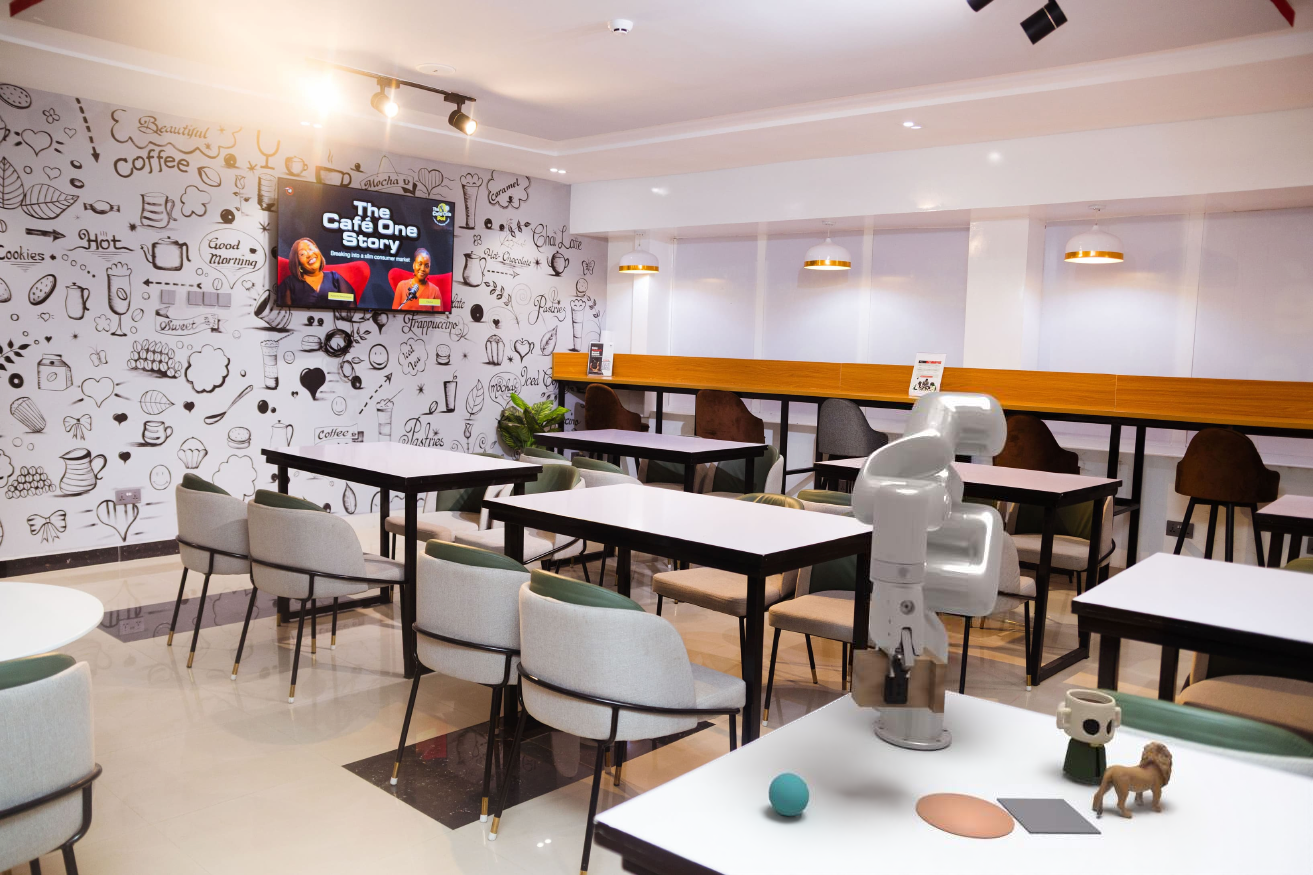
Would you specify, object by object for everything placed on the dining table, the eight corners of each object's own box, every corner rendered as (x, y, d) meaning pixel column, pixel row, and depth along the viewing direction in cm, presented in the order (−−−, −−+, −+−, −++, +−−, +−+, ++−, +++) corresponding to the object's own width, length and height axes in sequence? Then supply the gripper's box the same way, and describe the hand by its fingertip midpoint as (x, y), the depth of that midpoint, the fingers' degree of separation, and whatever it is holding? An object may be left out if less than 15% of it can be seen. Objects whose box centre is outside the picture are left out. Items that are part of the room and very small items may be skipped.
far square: (1030, 833, 124) (1030, 831, 124) (996, 799, 134) (996, 798, 134) (1101, 833, 125) (1101, 832, 125) (1062, 800, 135) (1062, 798, 135)
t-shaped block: (863, 712, 128) (866, 662, 128) (847, 692, 136) (849, 645, 135) (943, 713, 129) (947, 664, 128) (922, 692, 137) (925, 646, 136)
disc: (896, 804, 131) (896, 803, 131) (959, 787, 137) (959, 786, 137) (970, 846, 120) (970, 845, 120) (1034, 825, 126) (1034, 824, 126)
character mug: (1066, 789, 138) (1073, 705, 138) (1039, 769, 145) (1045, 689, 145) (1131, 787, 140) (1138, 703, 140) (1100, 767, 147) (1106, 688, 147)
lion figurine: (1144, 792, 139) (1148, 734, 138) (1178, 807, 134) (1183, 747, 134) (1081, 811, 132) (1086, 749, 131) (1116, 827, 127) (1121, 764, 126)
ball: (759, 809, 127) (761, 770, 127) (790, 801, 130) (792, 763, 130) (784, 826, 123) (787, 786, 122) (816, 818, 125) (818, 778, 125)
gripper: (946, 586, 123) (937, 719, 124) (902, 559, 140) (895, 678, 141) (891, 584, 122) (883, 719, 124) (854, 558, 139) (847, 677, 140)
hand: (889, 695), depth 132 cm, fingers closed on t-shaped block, 4 cm apart
